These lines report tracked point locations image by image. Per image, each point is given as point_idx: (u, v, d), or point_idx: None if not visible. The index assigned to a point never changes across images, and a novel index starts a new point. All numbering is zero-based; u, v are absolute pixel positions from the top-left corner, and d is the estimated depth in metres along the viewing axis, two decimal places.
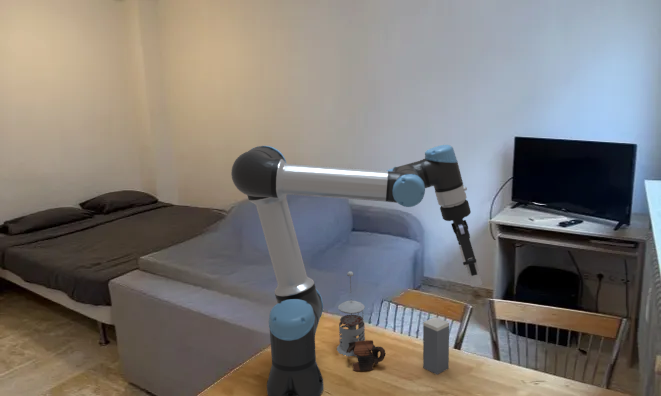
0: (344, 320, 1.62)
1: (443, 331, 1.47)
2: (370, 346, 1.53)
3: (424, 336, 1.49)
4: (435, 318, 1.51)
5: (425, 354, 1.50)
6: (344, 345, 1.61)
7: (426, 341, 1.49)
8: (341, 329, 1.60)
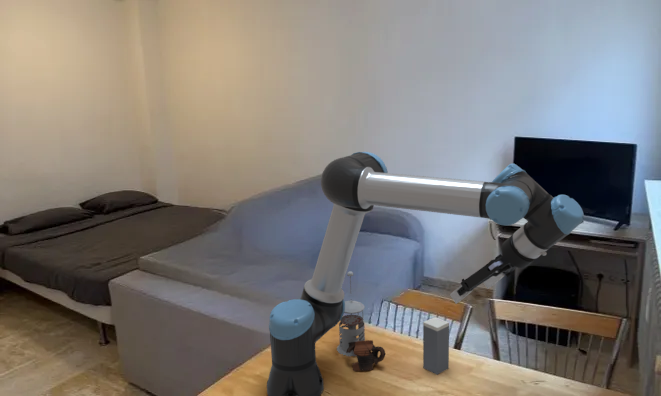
0: (344, 320, 1.62)
1: (443, 331, 1.47)
2: (370, 346, 1.53)
3: (424, 336, 1.49)
4: (435, 318, 1.51)
5: (425, 354, 1.50)
6: (344, 345, 1.61)
7: (426, 341, 1.49)
8: (341, 329, 1.60)
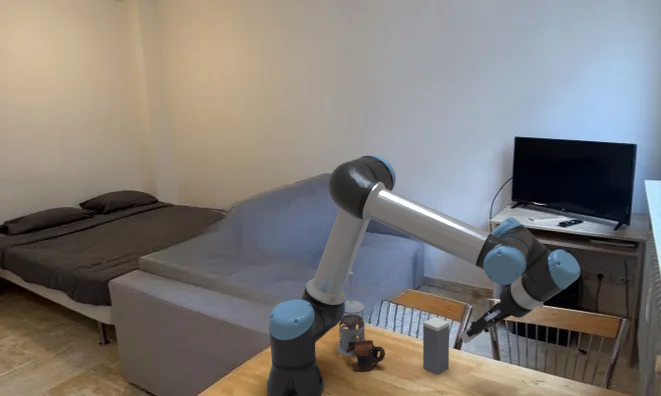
0: (344, 320, 1.62)
1: (443, 331, 1.47)
2: (370, 346, 1.53)
3: (424, 336, 1.49)
4: (435, 318, 1.51)
5: (425, 354, 1.50)
6: (344, 345, 1.61)
7: (426, 341, 1.49)
8: (341, 329, 1.61)
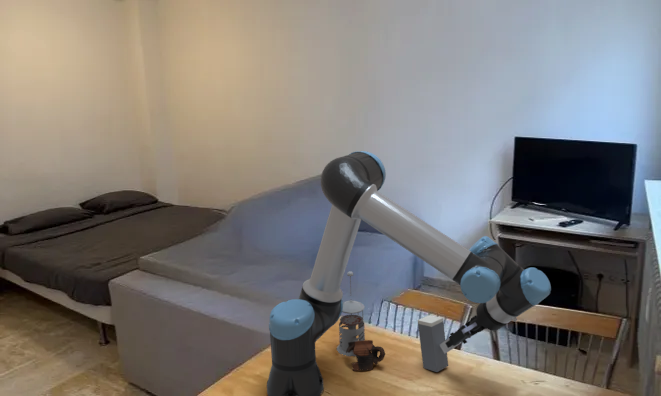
0: (344, 320, 1.62)
1: (438, 327, 1.48)
2: (370, 346, 1.53)
3: (420, 334, 1.50)
4: (429, 316, 1.52)
5: (423, 353, 1.50)
6: (344, 345, 1.61)
7: (422, 339, 1.50)
8: (341, 329, 1.61)
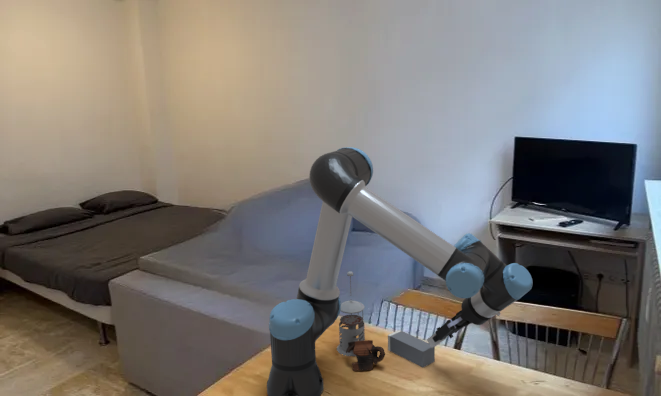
0: (344, 320, 1.62)
1: (398, 334, 1.61)
2: (369, 346, 1.53)
3: (397, 353, 1.59)
4: None
5: (411, 359, 1.55)
6: (344, 345, 1.61)
7: (400, 353, 1.58)
8: (341, 329, 1.61)
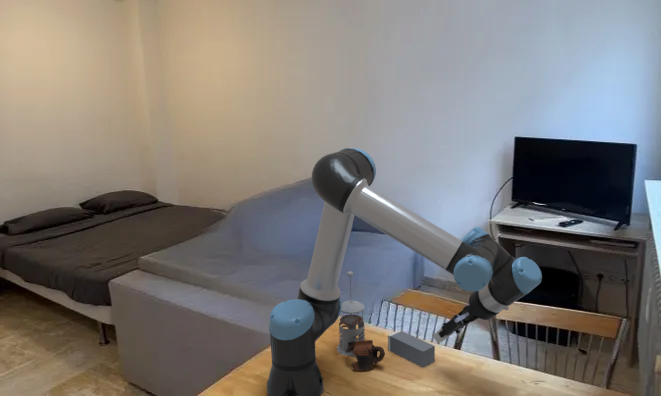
0: (344, 320, 1.62)
1: (398, 334, 1.61)
2: (369, 346, 1.53)
3: (397, 353, 1.59)
4: None
5: (411, 359, 1.55)
6: (344, 345, 1.61)
7: (401, 353, 1.58)
8: (341, 329, 1.61)
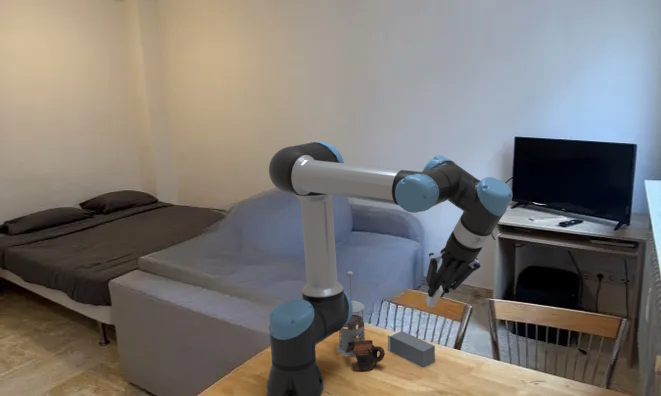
0: None
1: (398, 334, 1.61)
2: (369, 346, 1.53)
3: (398, 353, 1.59)
4: None
5: (411, 359, 1.55)
6: (344, 345, 1.61)
7: (401, 353, 1.58)
8: (341, 329, 1.61)
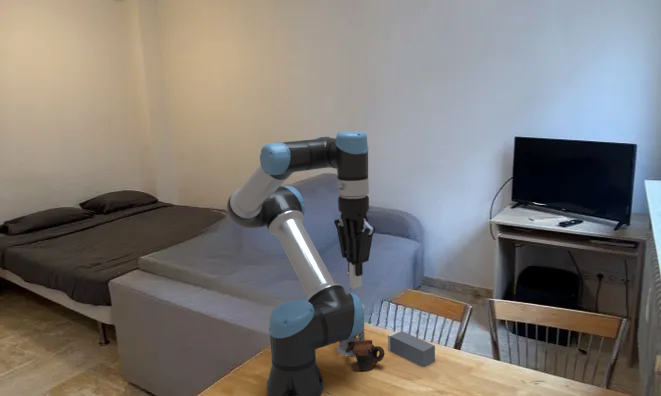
0: None
1: (398, 334, 1.61)
2: (369, 346, 1.53)
3: (398, 353, 1.59)
4: None
5: (411, 359, 1.55)
6: (344, 345, 1.61)
7: (401, 353, 1.58)
8: None
